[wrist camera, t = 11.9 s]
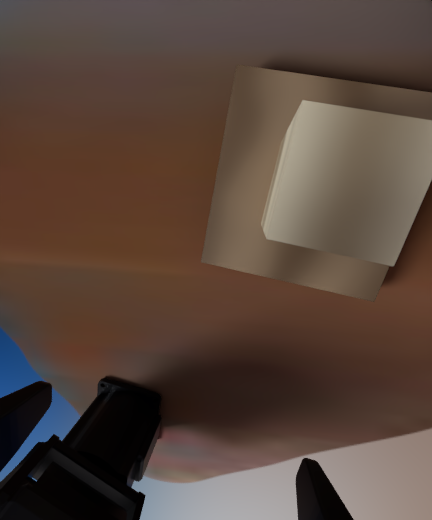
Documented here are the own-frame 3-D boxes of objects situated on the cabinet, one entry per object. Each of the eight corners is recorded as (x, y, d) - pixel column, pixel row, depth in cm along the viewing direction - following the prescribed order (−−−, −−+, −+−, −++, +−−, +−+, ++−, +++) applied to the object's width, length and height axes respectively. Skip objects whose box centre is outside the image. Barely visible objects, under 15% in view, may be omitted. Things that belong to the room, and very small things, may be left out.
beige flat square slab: (206, 255, 18) (200, 262, 16) (238, 81, 15) (236, 64, 13) (360, 290, 17) (374, 301, 15) (432, 111, 14) (461, 97, 12)
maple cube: (260, 223, 15) (266, 238, 9) (281, 141, 14) (302, 99, 8) (338, 240, 15) (393, 266, 9) (367, 156, 13) (455, 124, 8)
